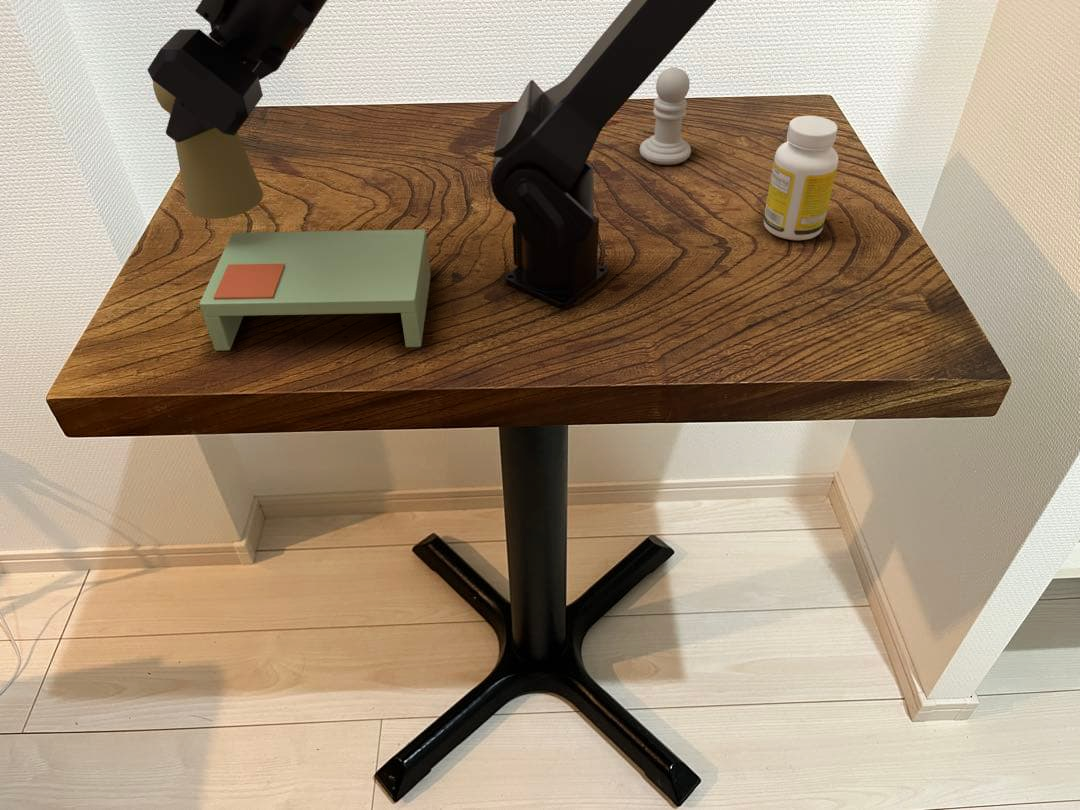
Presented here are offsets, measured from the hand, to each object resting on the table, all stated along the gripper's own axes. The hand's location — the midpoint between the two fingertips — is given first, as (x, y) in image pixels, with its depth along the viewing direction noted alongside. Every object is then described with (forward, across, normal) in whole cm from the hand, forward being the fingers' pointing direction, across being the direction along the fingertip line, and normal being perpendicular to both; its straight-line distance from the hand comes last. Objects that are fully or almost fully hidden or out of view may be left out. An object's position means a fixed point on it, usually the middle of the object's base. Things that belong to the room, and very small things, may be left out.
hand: (184, 121), depth 65 cm
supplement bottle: (-25, -9, +45) cm, 52 cm away
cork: (+4, 0, +6) cm, 7 cm away
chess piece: (-17, -23, +38) cm, 47 cm away
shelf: (+3, +5, +17) cm, 18 cm away
